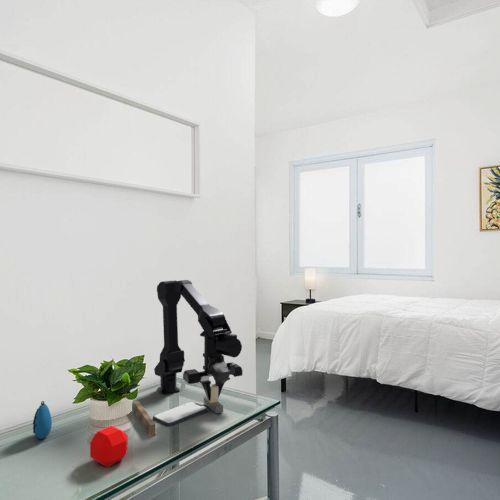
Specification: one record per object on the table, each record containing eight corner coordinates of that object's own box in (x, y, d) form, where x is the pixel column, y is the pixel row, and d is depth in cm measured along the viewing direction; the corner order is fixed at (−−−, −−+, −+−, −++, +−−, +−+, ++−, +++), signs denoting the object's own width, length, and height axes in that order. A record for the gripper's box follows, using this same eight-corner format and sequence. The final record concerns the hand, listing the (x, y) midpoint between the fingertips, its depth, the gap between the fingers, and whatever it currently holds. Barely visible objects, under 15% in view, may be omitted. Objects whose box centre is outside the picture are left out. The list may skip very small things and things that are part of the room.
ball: (133, 459, 108) (132, 429, 108) (104, 473, 101) (104, 441, 101) (113, 450, 113) (113, 421, 112) (85, 462, 106) (85, 431, 106)
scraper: (203, 402, 144) (203, 381, 144) (210, 401, 146) (210, 380, 145) (215, 413, 136) (215, 391, 135) (223, 412, 137) (223, 390, 137)
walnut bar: (133, 410, 139) (133, 401, 138) (138, 409, 139) (138, 400, 139) (150, 435, 121) (150, 425, 121) (155, 434, 122) (155, 424, 121)
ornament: (35, 432, 123) (35, 397, 123) (53, 429, 125) (53, 395, 124) (30, 445, 115) (30, 407, 115) (49, 442, 117) (49, 405, 116)
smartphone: (168, 429, 127) (209, 412, 138) (168, 424, 126) (209, 407, 138) (150, 421, 133) (191, 405, 144) (150, 415, 132) (191, 400, 144)
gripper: (195, 361, 129) (194, 413, 129) (250, 353, 137) (250, 402, 138) (182, 352, 138) (182, 401, 139) (235, 346, 147) (234, 391, 148)
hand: (213, 399), depth 141 cm, fingers closed on scraper, 2 cm apart
